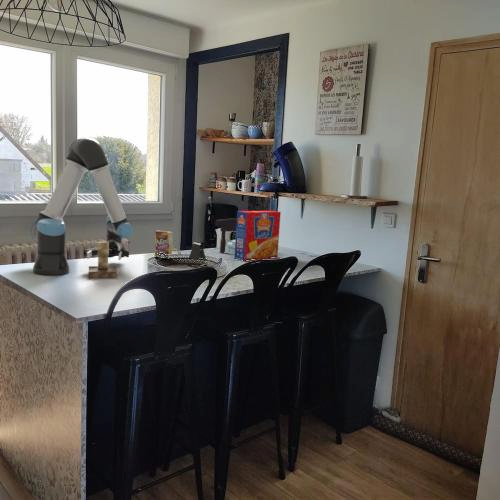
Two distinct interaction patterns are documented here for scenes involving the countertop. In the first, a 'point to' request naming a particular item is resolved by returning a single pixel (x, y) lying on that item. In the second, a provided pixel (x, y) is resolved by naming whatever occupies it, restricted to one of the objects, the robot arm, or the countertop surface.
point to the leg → (103, 255)
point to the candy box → (163, 241)
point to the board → (102, 272)
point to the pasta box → (257, 235)
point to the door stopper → (197, 251)
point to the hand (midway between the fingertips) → (103, 256)
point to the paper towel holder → (225, 226)
